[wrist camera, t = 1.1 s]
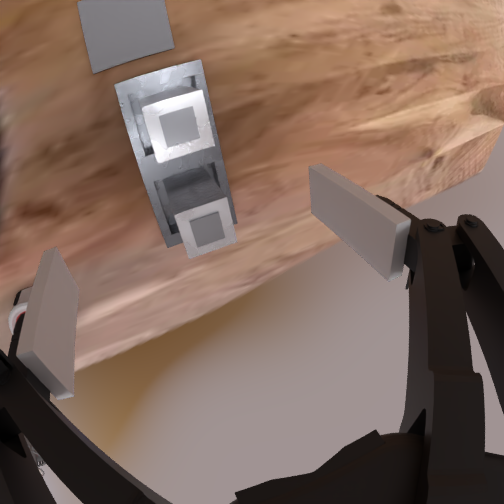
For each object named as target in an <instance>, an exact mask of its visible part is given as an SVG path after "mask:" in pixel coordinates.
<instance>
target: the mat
mask: <svg viewBox="0 0 504 504" xmlns="http://www.w3.org/2000/svg"><path fill="white" fill-rule="evenodd" d="M77 5H78V10H79V15H80V20H81V25H82V29H83V34H84V38H85V42H86V47H87V51H88V55H89V59H90V63H91V67H92V71H93V74H95V73H98V72H100V71H103V70H106V69H108V68H111V67H114V66H117V65H120V64H123V63H126V62H129V61H132V60H135V59H138V58H142V57H145V56H148V55H152V54H155V53H159V52H163V51H166V50H170V49H174V48H175V47H174V43H173V38H172V34H171V29H170V25H169V20H168V15H167V11H166V6H165V1H164V0H82V1H80V2H77Z"/></svg>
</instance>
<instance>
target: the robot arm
mask: <svg viewBox="0 0 504 504" xmlns="http://www.w3.org/2000/svg"><path fill="white" fill-rule="evenodd" d="M309 179H310V195H311V213H312V214H313V215H315V216H316V217H317V218H318V219H319V220H320V221H322V222H323V223H324V224H325V225H326V226H327V227H328V228H330V229H331V230H332V231H333V232H334V233H335V234H336V235H338V236H339V237H340V238H341V239H342V240H343V241H344V242H345V243H347V244H348V245H349V246H350V247H351V248H352V249H353V250H354V251H356V252H357V253H358V254H359V255H360V256H361V257H362V258H363V259H364V260H365V261H366V262H368V263H369V264H370V265H371V266H372V267H373V268H374V269H375V270H376V271H377V272H378V273H380V274H381V275H382V276H383V277H384V278H385V279H386V280H387V281H388V282H389V281H391V280H393V279H396V278H398V277H400V276H402V272H403V266H404V264H405V265H406V266H407V267H409V268H410V270H409V275H408V280H407V284H406V289H408V287H409V358H408V376H407V377H408V378H407V390H406V401H405V411H404V416H403V420H402V423H401V426H400V430H399V433H390V434H384V435H379V433H378V432H377V430H374V431H372V432H370V433H369V434H367V435H365V436H364V437H362V438H360V439H358V440H356V441H354V442H353V443H351V444H349V445H347V446H345V447H344V448H342V449H341V450H340V451H339V452H338V453H337V454H335V455H334V456H333V457H332V458H331V459H329V460H328V461H327V462H326V463H325V464H323V465H322V466H321V467H320V468H318V469H317V470H316V471H314V472H312V473H308V474H303V475H297V476H292V477H286V478H280V479H273V480H269V481H267V482H264V483H261V484H259V485H256V486H253V487H250V488H247V489H244V490H241V491H238V492H235V495H236V497H237V499H236V500H235V501H233V502H232V503H230V504H504V456H503V455H498V454H493V453H488V452H485V408H484V389H483V381H482V376H481V375H480V373H475V372H474V371H473V366H472V355H471V346H470V338H469V330H468V323H467V317H466V312H467V315H468V317H469V319H470V322H471V324H472V326H473V329H474V331H475V334H476V336H477V339H478V341H479V344H480V346H481V349H482V352H483V354H484V357H485V360H486V362H487V365H488V368H489V371H490V373H491V377H492V380H493V383H494V386H495V389H496V392H497V395H498V399H499V402H500V405H501V408H502V411H503V414H504V249H503V248H502V246H501V245H500V243H499V242H498V241H497V239H496V238H495V237H494V236H493V234H492V233H491V232H490V230H489V229H488V228H487V226H486V225H485V224H484V223H483V222H482V221H481V220H480V219H479V218H477V217H476V216H474V215H473V216H472V215H470V214H469V215H467V214H465V215H460V216H459V217H458V221H457V226H449V227H446V226H445V225H444V224H443V223H442V222H440V221H438V220H435V219H423V220H420V219H418V218H417V217H415V216H414V215H412V214H411V213H409V212H407V211H406V210H405V209H403V208H401V207H400V206H399V205H397V204H395V203H394V202H392V201H391V200H389V199H388V198H385V197H382V196H379V195H376V196H375V195H373V194H372V193H370V192H368V191H367V190H365V189H364V188H362V187H360V186H359V185H357V184H355V183H354V182H352V181H350V180H349V179H347V178H345V177H344V176H342V175H340V174H339V173H337V172H335V171H334V170H332V169H330V168H328V167H327V166H325V165H323V164H317V165H313V166H309ZM474 262H475V265H474ZM79 291H80V290H79V288H78V286H77V284H76V282H75V281H74V279H73V277H72V275H71V273H70V271H69V270H68V268H67V266H66V264H65V262H64V260H63V258H62V256H61V254H60V252H59V250H58V248H57V246H56V247H54V248H51V249H49V250H46V251H44V253H43V255H42V258H41V261H40V264H39V267H38V271H37V274H36V277H35V280H34V283H33V287H32V290H31V294H30V297H29V301H28V305H27V308H26V312H25V313H23V314H21V315H20V317H19V318H18V320H17V322H16V323H15V327H14V331H13V335H12V339H11V341H12V342H11V344H10V348H9V353H8V357H7V356H6V355H5V353H4V352H3V351H2V350H1V349H0V504H56V502H55V500H54V498H53V496H52V494H51V493H50V491H49V489H48V487H47V485H46V483H45V481H44V479H43V477H42V475H41V473H40V471H39V469H38V467H37V465H36V462H35V460H34V458H33V456H32V454H31V451H30V449H29V447H28V444H27V442H26V439H25V437H26V438H27V440H28V441H29V442H30V444H31V445H32V446H33V448H34V449H35V450H36V451H37V453H38V454H39V455H40V456H41V458H42V459H43V460H44V461H45V462H46V464H47V465H48V466H49V467H50V468H51V470H52V471H53V472H54V473H55V474H56V475H57V476H58V477H59V479H60V480H61V481H62V482H63V483H64V484H65V485H66V486H67V487H68V488H69V489H70V491H71V492H72V493H73V494H74V495H75V496H76V497H77V498H78V499H79V500H80V501H81V502H82V503H84V504H172V503H170V502H169V501H167V500H166V499H164V498H163V497H161V496H160V495H158V494H157V493H155V492H154V491H153V490H151V489H150V488H148V487H147V486H146V485H144V484H143V483H141V482H140V481H139V480H137V479H136V478H135V477H133V476H132V475H131V474H130V473H128V472H127V471H126V470H124V469H123V468H122V467H121V466H119V465H118V464H117V463H115V461H113V460H112V459H111V458H110V457H108V456H107V455H106V454H105V453H104V452H103V451H102V450H100V449H99V448H98V447H97V446H96V445H95V444H94V443H93V442H91V441H90V440H89V439H88V438H87V437H86V436H85V435H84V434H83V433H82V432H80V431H79V429H77V428H76V427H75V426H74V425H73V424H72V423H71V422H70V421H69V420H68V419H67V418H66V417H65V416H64V415H63V414H62V412H61V411H59V409H58V408H57V407H56V406H55V405H54V404H53V403H52V402H51V401H50V392H51V393H52V394H53V395H54V396H55V397H56V398H57V399H58V400H61V399H65V398H69V397H73V396H74V358H75V337H76V322H77V310H78V300H79ZM24 436H25V437H24Z"/></svg>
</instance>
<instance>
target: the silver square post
mask: <svg viewBox="0 0 504 504" xmlns="http://www.w3.org/2000/svg"><path fill="white" fill-rule="evenodd" d="M163 183H164V186H165V190H166V193H167V196H168V199H169V202H170V205H171V208H172V211H173V214H174V217H175V220H176V223H177V226H178V229H179V232H180V234H181V237H182V240H183V243H184V246H185V249H186V251H187V254H188V257H189V259H191V258H194V257H197V256H199V255H202V254H205V253H208V252H211V251H213V250H216V249H219V248H222V247H225V246H227V245H230V244H233V243H236V242H237V238H236V234H235V230H234V225H233V221H232V217H231V213H230V208H229V204H228V200H227V197H226V195H225V194H224V193H223V192H222V190H221V189H220V188H219V186H218V185H217V184H216V182H215V181H214V180H213V179H212V177H211V176H210V175H209V173H208V172H207V171H206V170H205V168H204V167H203V166H202V167H199V168H196V169H193V170H190V171H187V172H184V173H181V174H178V175H175V176H172V177H169V178H166V179H163Z"/></svg>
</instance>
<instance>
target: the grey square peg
mask: <svg viewBox="0 0 504 504" xmlns="http://www.w3.org/2000/svg"><path fill="white" fill-rule="evenodd" d="M139 101H140V105H141V109H142V112H143V116H144V120H145V123H146V127H147V130H148V134H149V137H150V140H151V144H152V147H153V150H154V153H155V156H156V159H157V163H158V164H159V163H162V162H165V161H168V160H171V159H174V158H177V157H180V156H183V155H186V154H189V153H192V152H196V151H199V150H202V149H205V148H209V147H212V146H215V144H214V139H213V135H212V130H211V126H210V122H209V117H208V113H207V108H206V104H205V99H204V95H203V90H201V89H197V88H192V87H188V86H180V87H176V88H172V89H169V90H166V91H162V92H159V93H156V94H152V95H149V96H146V97H143V98H140V99H139Z"/></svg>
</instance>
